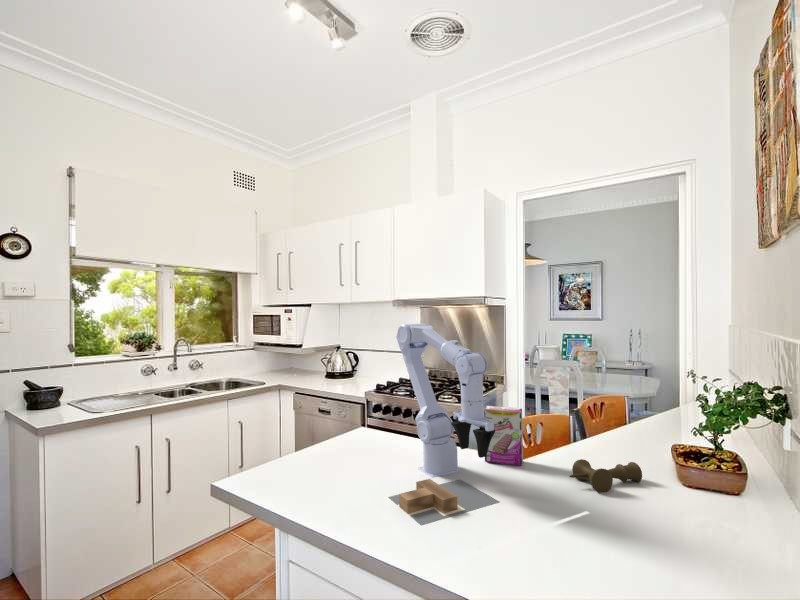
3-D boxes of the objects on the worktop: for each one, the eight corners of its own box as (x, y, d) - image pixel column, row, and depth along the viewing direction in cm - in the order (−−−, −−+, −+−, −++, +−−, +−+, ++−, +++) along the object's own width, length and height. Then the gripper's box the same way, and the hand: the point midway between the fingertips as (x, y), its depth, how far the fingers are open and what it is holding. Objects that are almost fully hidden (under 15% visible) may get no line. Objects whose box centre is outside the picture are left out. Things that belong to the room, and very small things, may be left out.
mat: (460, 481, 115) (460, 479, 115) (500, 504, 101) (500, 501, 101) (388, 499, 104) (388, 497, 104) (421, 527, 90) (421, 525, 90)
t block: (429, 490, 108) (429, 478, 108) (457, 509, 97) (457, 496, 97) (391, 500, 103) (391, 487, 103) (416, 521, 92) (416, 507, 92)
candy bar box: (484, 463, 128) (483, 408, 128) (486, 457, 133) (485, 405, 133) (522, 466, 124) (521, 411, 125) (523, 461, 129) (522, 407, 129)
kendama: (651, 490, 108) (581, 495, 104) (624, 476, 118) (559, 481, 114) (650, 466, 109) (580, 470, 105) (623, 455, 118) (558, 458, 114)
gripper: (443, 396, 115) (444, 447, 114) (477, 407, 102) (478, 463, 101) (464, 394, 118) (465, 443, 118) (499, 403, 105) (501, 458, 105)
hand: (473, 452), depth 110 cm, fingers open, 7 cm apart
